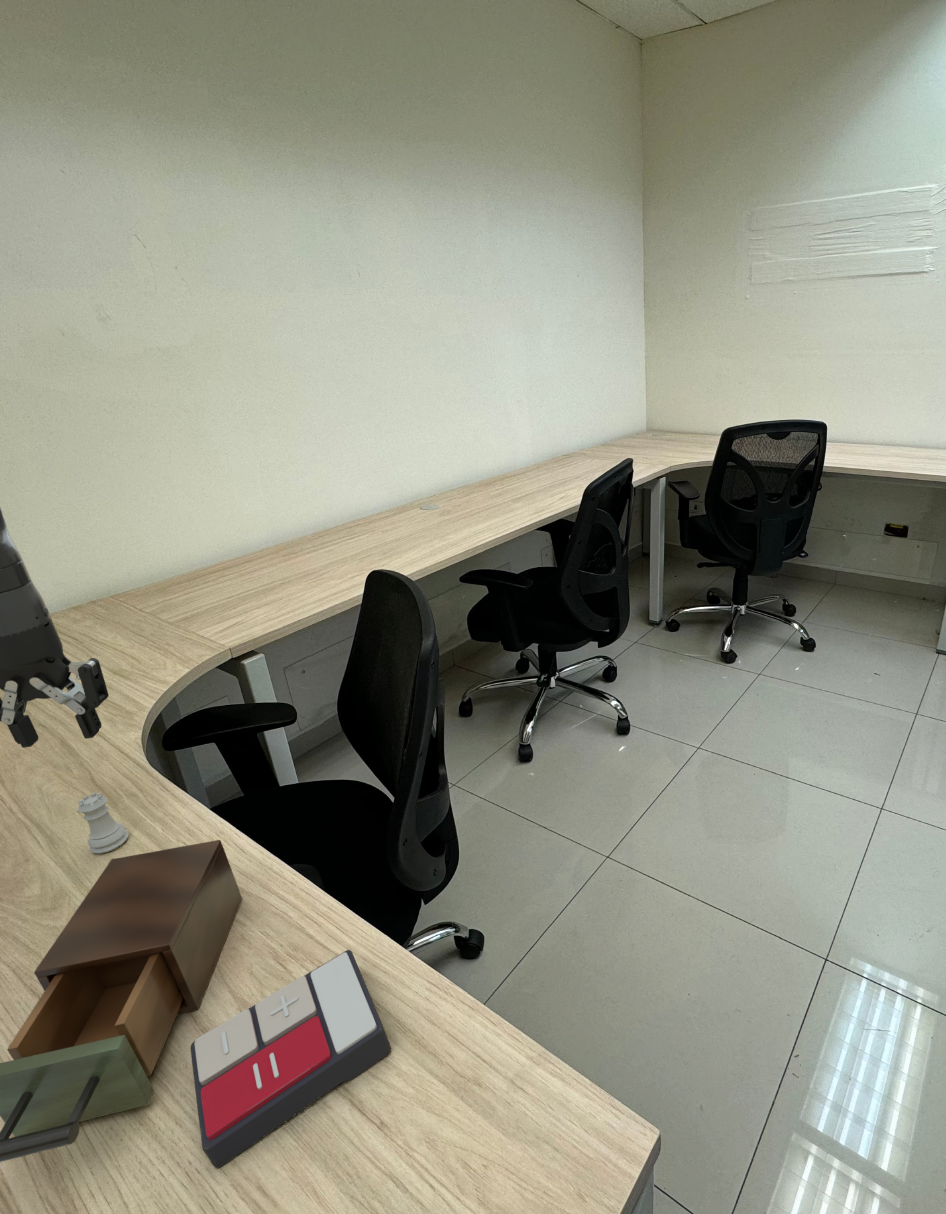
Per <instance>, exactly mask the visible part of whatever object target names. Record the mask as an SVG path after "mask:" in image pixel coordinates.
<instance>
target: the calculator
mask: <svg viewBox="0 0 946 1214" xmlns="http://www.w3.org/2000/svg"><path fill="white" fill-rule="evenodd" d="M390 1043H391V1042H390V1041H389V1038H388V1035H387V1033H386V1030H385V1027H384V1025H383V1022H382V1020H381V1018H380V1016H379V1013H378V1010H377V1008H376V1006H375V1003H374V1001H373V999H372V996H371V994H370V992H369V989H368V987H367V984H366V981H365V980H364V977H363V975H362V972H361V970H360V968H359V965H358V963H357V960H356V958H355V956H354V953H353V951H352V950H350V949H347V950H344V951H343V952H341V953H339V954H338V955H336V956H334V957H333V958H331V959H330V960H328V961H326V962H325V963H323V964H321V965H319V966H318V967H316V968H315V969H313V970H311V971H309V972H308V973H306V974H304V975H302V976H300V977H298V978H297V979H295V980H293V981H292V982H290V983H288V984H286V985H285V986H283V987H282V988H279V989H278V990H276V991H274V992H273V993H271V994H270V995H268V996H266V997H264V998H263V999H261V1000H260V1001H258V1002H257V1003H256V1004H254V1005H252V1006H251V1007H249V1008H247V1009H245V1010H242V1011H241V1012H240V1013H238V1014H236V1015H235V1016H233V1017H230V1018H228V1020H226V1021H224V1022H222V1023H221V1024H219V1025H218V1026H215V1027H214V1028H212V1029H210V1030H209V1031H207V1032H205V1033H204V1034H202V1035H201V1036H199V1037H197V1038H196V1039H195V1040H194V1041H193V1042H192V1043H191V1044H190V1055H191V1065H192V1072H193V1073H192V1074H193V1081H194V1089H195V1099H196V1105H197V1115H198V1123H199V1132H200V1141H201V1147H202V1150H203V1152H204V1154H205V1155H206V1157H207V1159H208V1160H209V1161H210V1163H211V1164H212V1166H213V1167H214V1168H215V1169H219V1168H221V1167H223V1166H224V1165H226V1164H227V1163H228V1162H230V1161H231V1160H233V1159H234V1158H236V1157H237V1156H239V1155H240V1154H241V1153H243V1152H244V1151H246V1150H247V1149H249V1148H250V1147H251V1146H253V1145H254V1144H256V1143H257V1142H259V1141H260V1140H261V1139H263V1138H264V1137H266V1136H267V1135H268V1134H270V1133H271V1132H273V1131H274V1130H276V1129H277V1128H279V1127H280V1126H281V1125H283V1124H284V1123H286V1122H287V1121H288V1120H290V1119H291V1118H293V1117H294V1116H296V1115H297V1114H299V1113H300V1112H301V1111H303V1110H304V1109H306V1108H307V1107H309V1106H310V1105H311V1104H313V1103H314V1102H316V1101H317V1100H318V1099H320V1098H321V1097H323V1096H324V1095H325V1094H328V1092H330V1091H332V1090H333V1089H334V1088H336V1087H338V1086H339V1085H340V1084H342V1083H345V1082H347V1081H350V1080H354V1079H355V1078H357V1077H358V1076H360V1075H361V1074H363V1073H364V1072H365V1071H367V1070H368V1069H370V1068H372V1066H374V1065H376V1064H377V1063H378V1062H380V1061H381V1060H382V1059H384V1058H385V1057H386V1056H388V1055H389V1054H390V1053H391V1051H392V1046H391V1044H390Z"/></svg>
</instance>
